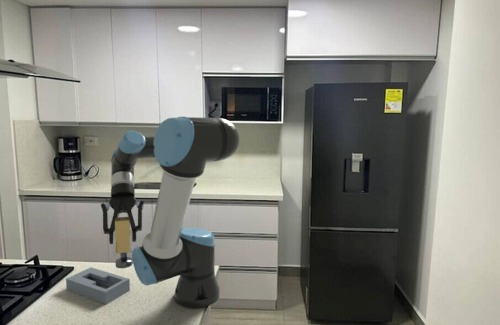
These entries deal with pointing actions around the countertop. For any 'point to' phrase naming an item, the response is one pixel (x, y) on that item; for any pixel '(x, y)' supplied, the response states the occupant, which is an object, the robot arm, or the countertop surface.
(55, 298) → the countertop surface
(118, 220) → the peg
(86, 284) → the keyhole block
